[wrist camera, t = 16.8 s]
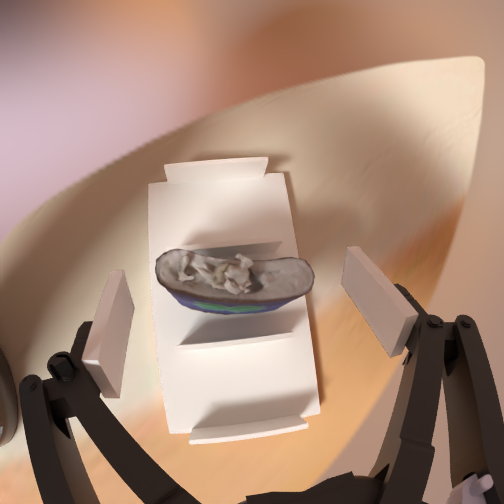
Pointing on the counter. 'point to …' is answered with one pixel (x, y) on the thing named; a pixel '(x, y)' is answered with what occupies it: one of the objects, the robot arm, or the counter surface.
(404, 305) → the robot arm
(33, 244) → the counter surface
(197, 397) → the rack
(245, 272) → the flask
